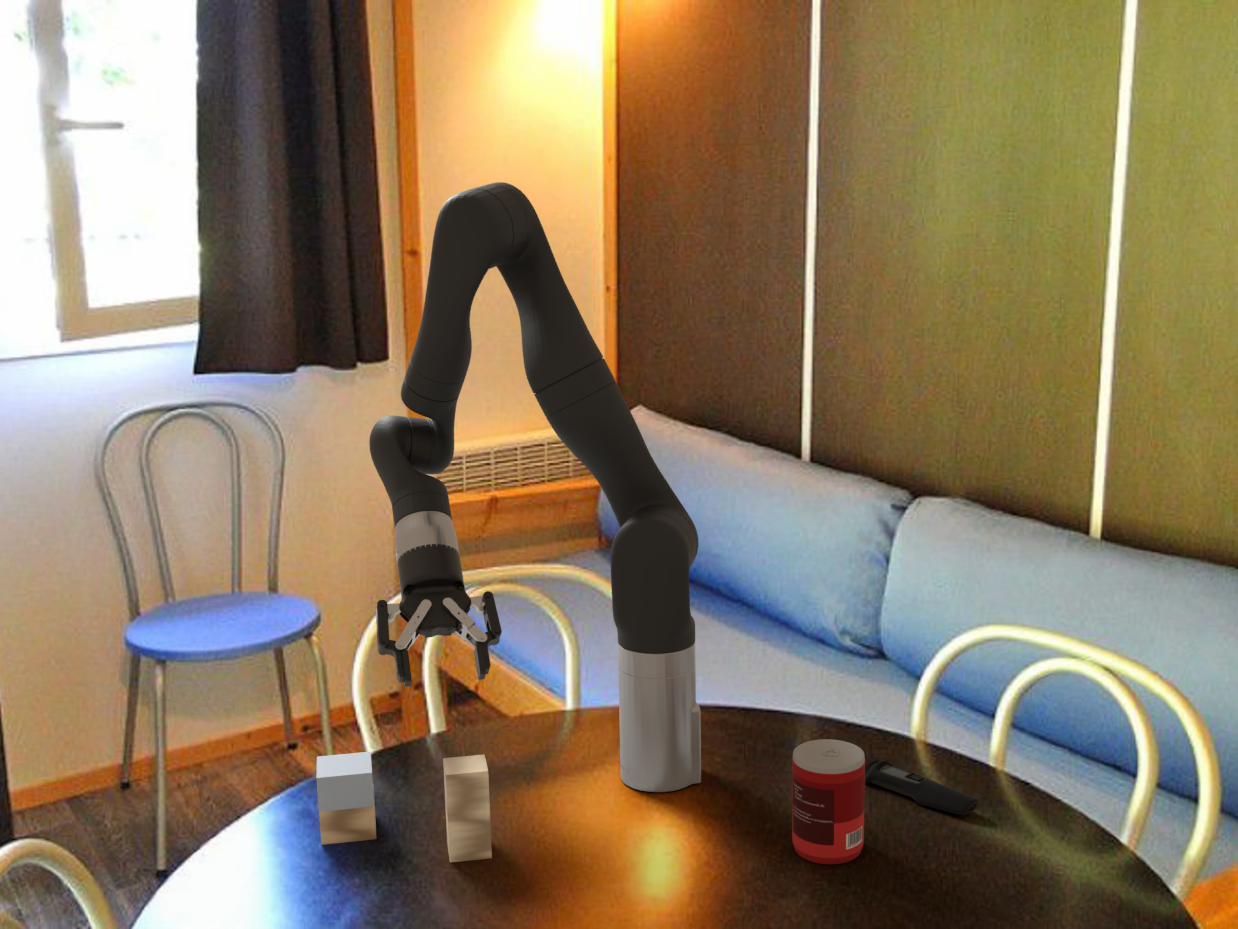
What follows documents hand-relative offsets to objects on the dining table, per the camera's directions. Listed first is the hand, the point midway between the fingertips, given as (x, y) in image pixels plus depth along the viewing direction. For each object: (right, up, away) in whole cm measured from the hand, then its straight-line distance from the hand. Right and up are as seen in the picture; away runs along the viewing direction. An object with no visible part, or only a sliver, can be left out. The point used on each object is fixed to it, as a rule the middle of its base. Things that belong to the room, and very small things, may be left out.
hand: (445, 680), depth 162 cm
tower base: (-11, -17, -2) cm, 20 cm away
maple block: (+4, -17, -8) cm, 19 cm away
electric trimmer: (+55, -15, +3) cm, 57 cm away
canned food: (+42, -17, -9) cm, 47 cm away
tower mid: (-11, -13, -3) cm, 17 cm away
